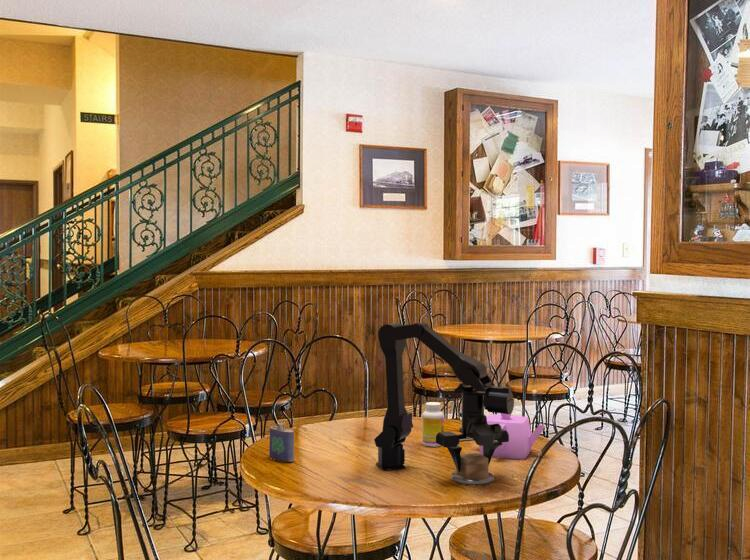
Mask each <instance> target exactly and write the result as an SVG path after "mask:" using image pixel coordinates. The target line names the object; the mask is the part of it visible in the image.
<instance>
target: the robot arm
mask: <svg viewBox="0 0 750 560" xmlns="http://www.w3.org/2000/svg"><path fill="white" fill-rule="evenodd" d="M413 338H416V339H417V340H419V342H421V343H422V344H423V345H425V346H426V347H427V348H428V349H429V350H431V351H432V352H433V353H435V354H436V356H438V357H439V358H440V359H441V360H443V361H444V362H445V363H446V364H447V365H448V366H449V367H450V368H451V370H452V372H453V374H454V375H455V376H456V378H458V380H459V381H460V383H459V385H458V386H457V387H456V388H455V389H453V392H454V393H457V394H458V393H460V394H461V412H459V417H460V418H461V427H460V428H459V433H460V434H456V433H455V432H452V431H450V430H449V431H444V432H438V434H437V436H436V443H437V444H439V445H441V446H440V447H442V448H445V449H447V450H448V452H449V454H450V457H451V458H452V462H453V464H454V467H455V469H456V471H458V472H460V470H461V459H460V454H461V453H462V450H463V447H462V446H460V442H461V443H462V442H463V443H464V442H471V441H474V442H475V444H476V445H478V446H483V456H485V457H487V458H488V467H489V466H490V463H491V460H492V458H493V457H492V455H493V453H494V451H495V449H496V448H497V447H498V446H501V445H502V444H503V443H501V442H509V434H508V432H507V431H506V430H504V429H502V428H501V426H500V425H499V424H490V425H488V423H487V418H486V417H487V415H486V414H485V410H486V411H487V412H488V413H491V414H501V413H502V414H511V415H512V413H513V411H514V408H515V407H514V406H515V398H514V395H513V394H514V393H513V392H512V387H511V386H496V385H495V383H494V381H493V380H492V378H491V377H490V376H489V375H488V374H489V373H488V371H487V367H486V365H485V364H484V363H483V362H481V361H479V360H478V359H477V358H474V357H472V356H471V355H467V354H465V353H463V352H461V351H460V350H459V349H457V347H454V346H453V345H452V344H451V343H450V342H449V341H448V340H446V339H445V338H444V337H443V336H441V334H439V333H438V332H436V330H434V329H433V328H432V327H430V326H429V324H428V323H426V322H424V321H420V322H415V323H413V324H404V325H403V324H402V323H401V322H393V323H387V324H383V325H382V326H380V328H379V329H378V330H377V339H378V344H379V347H380V350H381V352H382V354H383V356H384V360H385V361H384V363H385V365H384V366H385V367H384V368H385V385H386V407H387V408H386V411H385V413H384V416H383V417H384V418H383V422H382V429H381V432H380V433H379V434H378V435H377V436H376V437H375V438H374V444H375V447H377V453H378V454H377V456H378V457H377V462H376V463H375V465H376V466H377V467H379V468H380V470H383V471H390V470H392V471H393V470H402V469H406V465H405V462H406V461H405V459H406V458H405V456H406V451H405V449H404V444H403V443H405V442H406V439H407V437H408V436H409V435H410V434H411V433H412V429H413V428H414V424H413V412H408V411H407V409H406V407H405V389H404V387H405V386H404V367H403V365H404V364H403V354H404V351H405V348H406V345H407V339H413Z"/></svg>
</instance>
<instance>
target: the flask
mask: <svg viewBox="0 0 750 560" xmlns="http://www.w3.org/2000/svg"><path fill="white" fill-rule="evenodd" d="M284 426H285V423H283V422H278V423H277V425H275V426H274V425H273V426H270V427H269V457H270V458H272V459H275V460H279V461H278V462H280V461H283V462H282V463H284V462H292V463H294V462H295V445H294V444H295V442H294V441H295V439H294V437H295V431H294V430H291V429H287V428H285V427H284ZM269 457H268V458H269ZM272 459H271V460H272ZM275 460H274V461H275ZM293 461H294V462H293Z"/></svg>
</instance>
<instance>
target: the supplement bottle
mask: <svg viewBox="0 0 750 560" xmlns="http://www.w3.org/2000/svg"><path fill="white" fill-rule="evenodd" d="M441 407H442V404H441V402H439V401H438V402H436V401H429V402H425V410H424V411H423V412H422V414H421V415H422V418H421V420H422V421H421V424H422V426H421V427H422V429H421V431H422V433H421V435H422V438H421V440H422V441H421V443H422V444H423V446H425V447H433V448H438V447H442V446H441V445H439V444H437V443H436V436H437V434H438V432H445V431H444V430H445V429H444V427H445V421H444V420H445V416H444V415H445V414H444V412H443V411H442V410H441Z"/></svg>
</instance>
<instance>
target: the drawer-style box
mask: <svg viewBox="0 0 750 560" xmlns="http://www.w3.org/2000/svg"><path fill="white" fill-rule="evenodd" d="M460 459H461V470H460V472H458V471H457V470H456V471H457V474H459V475H460V476H462V477H463V478H465V479H467V480H472V479H481V478H488V472H489V466H488V458H487V457H485V456H483V455H481V453H479V452H472V453H471V452H469V453H460Z"/></svg>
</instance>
